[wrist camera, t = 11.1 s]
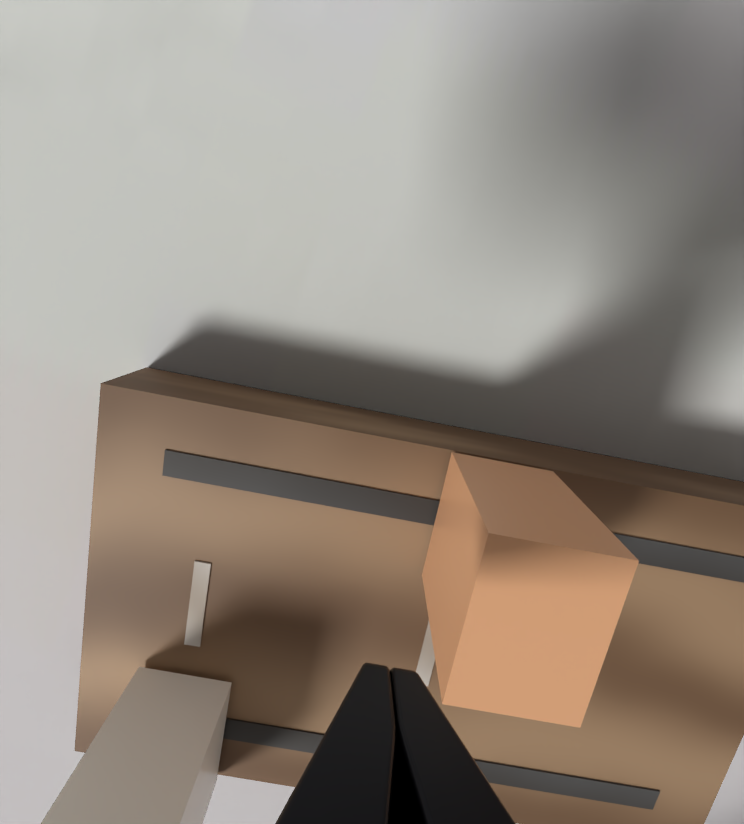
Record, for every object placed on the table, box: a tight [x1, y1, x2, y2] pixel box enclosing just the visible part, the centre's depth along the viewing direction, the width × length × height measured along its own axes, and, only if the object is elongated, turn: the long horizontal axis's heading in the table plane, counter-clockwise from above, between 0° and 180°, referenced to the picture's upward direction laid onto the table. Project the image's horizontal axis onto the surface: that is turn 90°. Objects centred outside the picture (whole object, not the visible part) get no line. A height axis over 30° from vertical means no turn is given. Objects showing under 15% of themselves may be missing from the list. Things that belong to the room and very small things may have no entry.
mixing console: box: [75, 368, 744, 824], centre depth 18 cm, size 13×22×3 cm, turn 79°
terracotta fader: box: [422, 452, 639, 728], centre depth 13 cm, size 4×3×5 cm
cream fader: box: [41, 667, 232, 824], centre depth 15 cm, size 4×3×5 cm
